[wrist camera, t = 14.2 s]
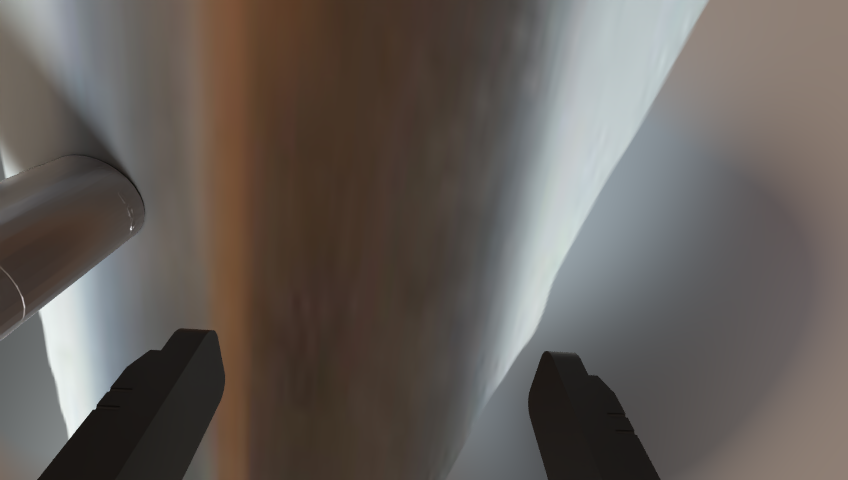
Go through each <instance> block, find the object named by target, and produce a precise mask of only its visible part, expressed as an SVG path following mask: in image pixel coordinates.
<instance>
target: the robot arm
mask: <svg viewBox="0 0 848 480" xmlns="http://www.w3.org/2000/svg"><path fill="white" fill-rule="evenodd" d="M144 215H145V213H144V206H143V203H142V200H141V197H140V195H139V194H138V192H137V190H136V189H135V187H134V186H133V185H132V184H131V182H130V181H129V180H128V179H127V178H126V177H125V176H124V175H122V174H121V173H120V172H119V171H118V170H116V169H115V168H113V167H111V166H110V165H108V164H106V163H104V162H102V161H100V160H97V159H94V158H91V157H87V156H79V155H71V156H64V157H61V158H59V159H56V160H54V161H51V162H49V163H46V164H44V165H41V166H36V167H33V168H31V169H29V170H26V171H24V172H21V173H19V174H17V175H14V176H12V177H9V178H7V179H4V180H2V181H0V341H1V340H2V339H3V338H5V337H6V336H7V335H8V334H10V333H11V332H12V331H13V330H15V329H16V328H17V327H18V326H19V325H21V324H22V323H23V322H25V321H26V320H27V319H28V318H30V317H31V316H32V315H33V314H35V313H36V312H37V311H39V310H40V309H41V308H42V307H44V306H45V305H46V304H47V303H49V302H50V301H51V300H53V299H54V298H55V297H56V296H58V295H59V294H60V293H61V292H63V291H64V290H65V289H67V288H68V287H69V286H70V285H72V284H73V283H74V282H75V281H77V280H78V279H79V278H80V277H82V276H83V275H84V274H86V273H87V272H88V271H89V270H91V269H92V268H93V267H94V266H96V265H97V264H98V263H100V262H101V261H102V260H103V259H105V258H106V257H107V256H108V255H110V254H111V253H112V252H114V251H115V250H116V249H117V248H119V247H120V246H121V245H122V244H124V243H125V242H126V241H128V240H129V239H130V238H131V237H133V236H134V235H135V234H136V233H137V232H138V231H139V230H140V229H141V227H142V224H143V222H144ZM224 386H225V373H224V367H223V362H222V357H221V352H220V346H219V341H218V336H217V333H216V332H215V331H214V330H198V329H182V328H181V329H178V330H177V331H175V332H174V334H173V335H172V336H171V338H170V339H169V340H168V342H167V343H166V344H165V346H164V347H163V349H162V350H161V351H160V350H150V351H148V352H147V353H145V354H144V355H143V356H141V357H140V358H139V359H137V360H136V361H134V362H133V363H132V364H130V365H129V366H128V367H126V369H125V370H124V371H123V372H122V374H121V375H120V376H119V378H118V379H117V380H116V381H115V383H114V384H113V385H112V386H111V389H110V391H109V392H107V393H106V394H105V395H104V396H103V398H102V399H101V400H100V401H99V403H98V404H97V407H96V409H95V410H92V412H91V413H90V414H89V415H88V417H87V418H86V419H85V420H84V422H83V423H82V424H81V425H80V427H79V428H78V429H77V430H76V432H75V433H74V434H73V435H72V437H71V438H70V439H69V440H68V442H67V443H66V444H65V446H64V447H63V448H62V449H61V451H60V452H59V453H58V454H57V456H56V457H55V458H54V459H53V461H52V462H51V463H50V464H49V466H48V467H47V468H46V470H45V471H44V472H43V473H42V474H41V476H40V477H39V478H38V479H37V480H182V479H183V477H184V475H185V473H186V471H187V469H188V467H189V465H190V463H191V461H192V458H193V456H194V454H195V452H196V450H197V448H198V446H199V444H200V442H201V440H202V438H203V436H204V434H205V432H206V430H207V428H208V426H209V423H210V421H211V419H212V417H213V415H214V413H215V411H216V409H217V407H218V405H219V403H220V401H221V398H222V395H223V391H224ZM528 407H529V415H530V419H531V422H532V426H533V429H534V433H535V436H536V440H537V443H538V446H539V450H540V453H541V456H542V460H543V463H544V467H545V470H546V473H547V477H548V480H660V478H659V476H658V474H657V472H656V470H655V468H654V466H653V465H652V463H651V461H650V459H649V457H648V455H647V454H646V451H645V449H644V448H643V446H642V444H641V442H640V440H639V438H638V437H637V435H635V434H634V429H633V427H632V425H631V423H630V421H629V419H628V418H626V417H625V412H624V410H623V408H622V406H621V404H620V403H619V401H618V399H617V397H616V395H615V393H614V392H613V391H612V390H610V388H609V387H608V386H607V385H606V384H605V383H604V382H603V381H602V380H601V379H600V378H599V377H598V376H592V375H588V373H587V371H586V369H585V367H584V365H583V363H582V361H581V359H580V358H579V356H578V355H577V354H576V353H568V352H551V351H545V352H544V353H543V354H542V357H541V359H540V362H539V365H538V368H537V371H536V374H535V377H534V380H533V383H532V386H531V389H530V392H529V398H528Z"/></svg>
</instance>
